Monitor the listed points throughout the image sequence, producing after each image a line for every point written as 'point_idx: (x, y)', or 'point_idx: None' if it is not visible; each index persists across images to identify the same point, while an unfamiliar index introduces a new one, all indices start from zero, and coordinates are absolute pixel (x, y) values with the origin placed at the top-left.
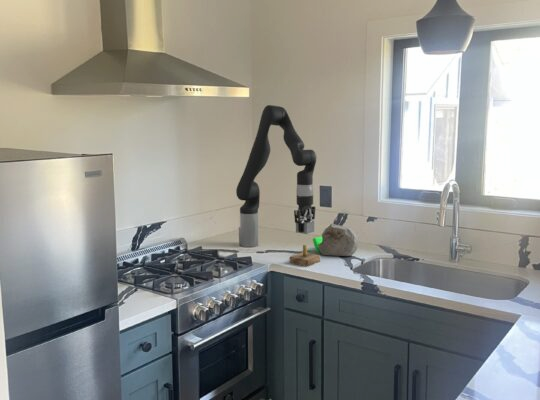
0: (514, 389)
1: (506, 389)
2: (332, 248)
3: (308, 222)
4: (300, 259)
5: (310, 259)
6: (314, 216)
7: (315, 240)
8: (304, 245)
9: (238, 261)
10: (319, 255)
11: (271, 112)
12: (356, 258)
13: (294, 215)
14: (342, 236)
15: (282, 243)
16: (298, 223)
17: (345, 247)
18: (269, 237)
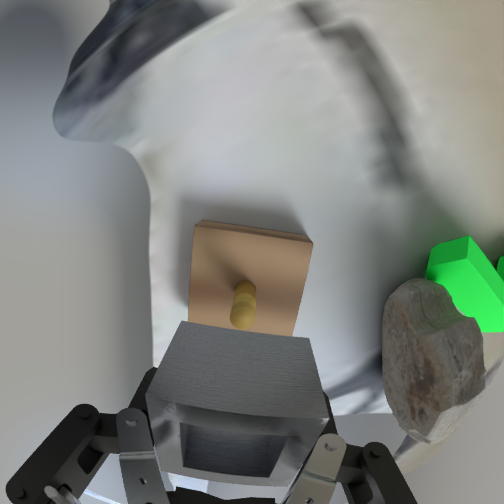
0: None
1: None
2: (392, 350)
3: (192, 476)
4: (190, 289)
5: None
6: (364, 489)
7: (456, 258)
8: (238, 317)
9: (130, 27)
10: None
11: None
12: (372, 396)
13: (32, 456)
14: (412, 414)
15: (467, 66)
16: (111, 421)
17: (391, 393)
18: (485, 19)
